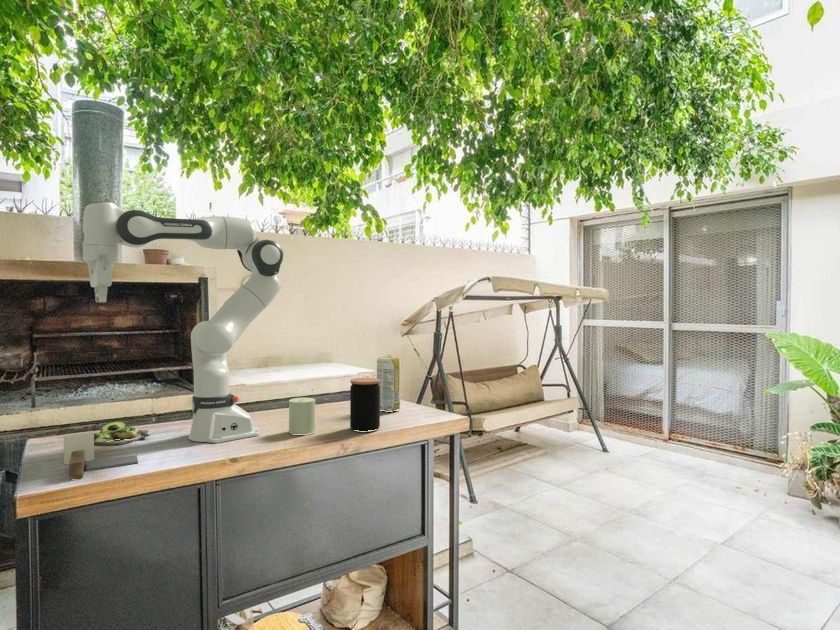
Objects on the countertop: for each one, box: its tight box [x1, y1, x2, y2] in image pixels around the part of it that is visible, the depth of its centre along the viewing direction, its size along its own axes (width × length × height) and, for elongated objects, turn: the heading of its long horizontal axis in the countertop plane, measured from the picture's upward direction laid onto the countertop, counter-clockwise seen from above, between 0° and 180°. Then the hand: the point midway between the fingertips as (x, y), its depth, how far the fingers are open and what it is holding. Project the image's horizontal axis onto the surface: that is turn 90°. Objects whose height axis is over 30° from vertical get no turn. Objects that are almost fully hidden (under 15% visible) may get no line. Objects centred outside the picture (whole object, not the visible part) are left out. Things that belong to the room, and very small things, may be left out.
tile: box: [63, 430, 95, 465], centre depth 140 cm, size 7×2×8 cm, turn 122°
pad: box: [85, 454, 139, 472], centre depth 138 cm, size 12×7×1 cm, turn 122°
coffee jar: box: [349, 377, 381, 431], centre depth 178 cm, size 11×11×18 cm
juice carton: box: [376, 353, 401, 411], centre depth 209 cm, size 9×8×24 cm
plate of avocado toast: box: [94, 421, 151, 445], centre depth 164 cm, size 19×18×5 cm
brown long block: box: [68, 450, 85, 481], centre depth 130 cm, size 3×12×4 cm, turn 32°
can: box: [288, 397, 316, 434], centre depth 173 cm, size 9×9×12 cm
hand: (100, 302), depth 148 cm, fingers open, 8 cm apart
